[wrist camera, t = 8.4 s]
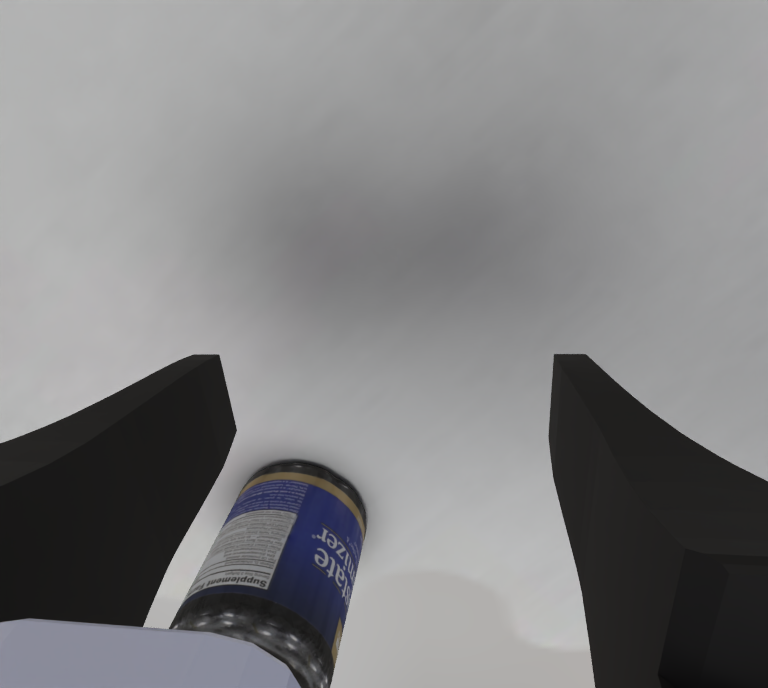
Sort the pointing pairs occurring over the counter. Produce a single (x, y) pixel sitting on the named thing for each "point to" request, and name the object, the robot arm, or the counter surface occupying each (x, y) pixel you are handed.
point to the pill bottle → (283, 570)
